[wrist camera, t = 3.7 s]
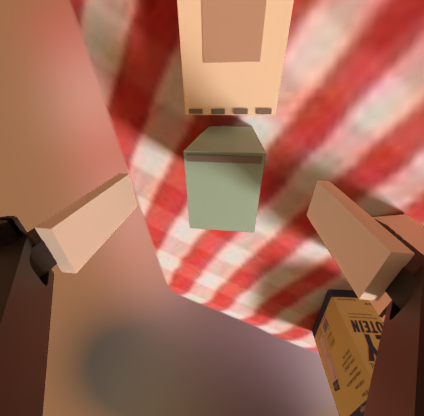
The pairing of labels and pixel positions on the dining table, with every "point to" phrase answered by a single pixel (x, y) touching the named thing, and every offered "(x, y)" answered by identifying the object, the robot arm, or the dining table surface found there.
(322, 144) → the dining table surface
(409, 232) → the milk carton
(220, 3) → the block
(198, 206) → the pale green block
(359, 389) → the protein box
